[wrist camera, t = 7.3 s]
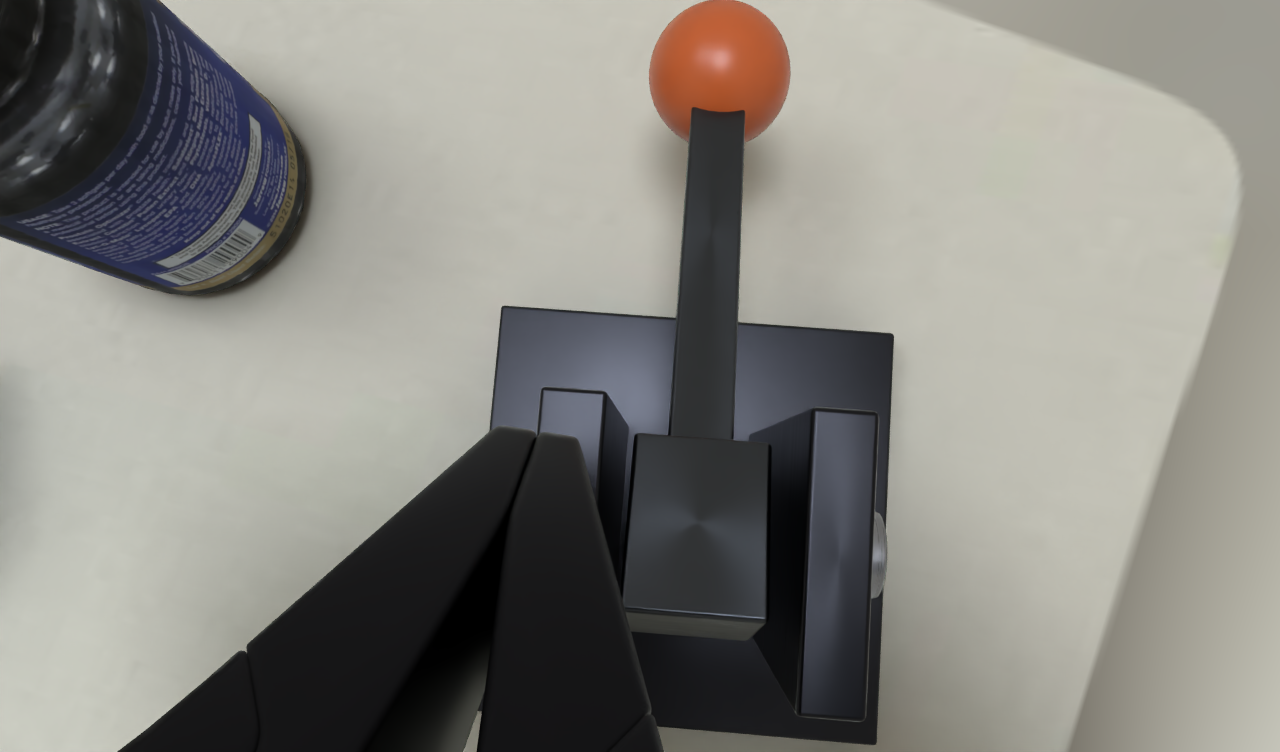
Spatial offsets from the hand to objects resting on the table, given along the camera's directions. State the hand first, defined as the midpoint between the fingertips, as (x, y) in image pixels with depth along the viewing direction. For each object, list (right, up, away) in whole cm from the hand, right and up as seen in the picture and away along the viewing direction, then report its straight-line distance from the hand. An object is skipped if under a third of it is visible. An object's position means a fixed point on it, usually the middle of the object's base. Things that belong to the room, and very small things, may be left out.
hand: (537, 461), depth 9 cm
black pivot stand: (+2, -3, +13) cm, 14 cm away
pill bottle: (-11, +6, +15) cm, 19 cm away
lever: (+2, +2, +8) cm, 9 cm away
